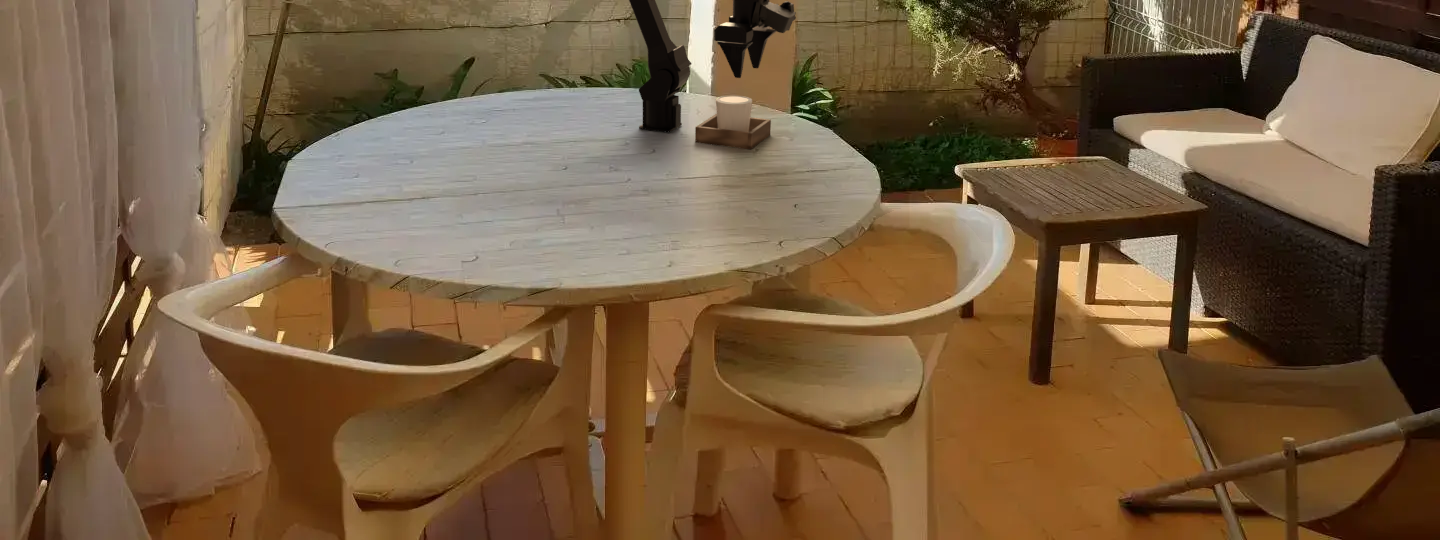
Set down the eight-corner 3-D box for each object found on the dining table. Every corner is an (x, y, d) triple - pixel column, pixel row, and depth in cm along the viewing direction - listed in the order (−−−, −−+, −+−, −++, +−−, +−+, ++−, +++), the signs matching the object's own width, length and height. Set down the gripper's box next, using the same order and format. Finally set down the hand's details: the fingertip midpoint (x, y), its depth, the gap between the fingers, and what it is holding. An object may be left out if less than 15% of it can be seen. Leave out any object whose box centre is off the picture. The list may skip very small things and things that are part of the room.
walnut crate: (695, 142, 234) (695, 126, 233) (716, 128, 244) (716, 113, 243) (751, 149, 231) (751, 133, 230) (770, 135, 240) (770, 119, 239)
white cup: (753, 131, 240) (754, 95, 237) (749, 141, 234) (750, 104, 231) (717, 129, 241) (718, 93, 238) (712, 139, 234) (713, 102, 232)
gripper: (773, -2, 218) (770, 87, 224) (807, -16, 234) (804, 67, 240) (713, -7, 222) (712, 81, 228) (751, -21, 238) (749, 62, 244)
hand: (747, 72), depth 235 cm, fingers open, 9 cm apart
